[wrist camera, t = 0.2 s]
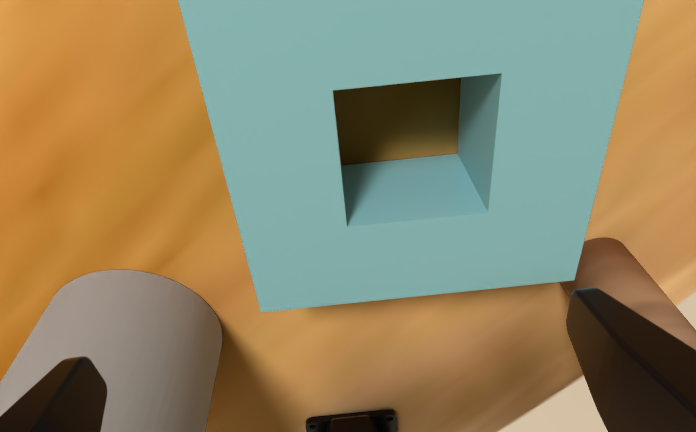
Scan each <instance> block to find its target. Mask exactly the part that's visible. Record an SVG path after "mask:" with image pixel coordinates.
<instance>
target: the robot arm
mask: <svg viewBox="0 0 696 432" xmlns="http://www.w3.org/2000/svg"><path fill="white" fill-rule="evenodd" d="M566 326H567V331H568V335H569V337H570V340H571V343H572V345H573V348H574V350H575V353H576V356H577V358H578V361H579V363H580V366H581V369H582V371H583V374H584V377H585V379H586V382H587V384H588V387H589V390H590V392H591V395H592V398H593V400H594V402H595V405H596V407H597V410H598V412H599V414H600V416H601V418H602V420H603V422H604V424H605V426H606V428H607V430H608V432H696V350H695V349H694V348H692V347H691V346H689V345H688V344H686V343H684V342H683V341H681V340H680V339H678V338H677V337H675V336H673V335H672V334H670V333H669V332H667V331H665V330H664V329H662V328H661V327H659V326H658V325H656V324H654V323H653V322H651V321H650V320H648V319H646V318H645V317H643V316H642V315H640V314H639V313H637V312H635V311H634V310H632V309H631V308H629V307H628V306H626V305H624V304H623V303H621V302H620V301H618V300H616V299H615V298H613V297H612V296H610V295H609V294H607V293H605V292H604V291H602V290H601V289H598V288H595V287H592V288H584V289H577V290H574V291H573V292H572V294H571V297H570V303H569V308H568V314H567V319H566ZM106 399H107V385H106V382H105V380H104V379H103V377H102V376H101V374H100V373H99V371H98V370H97V368H96V367H95V365H94V364H93V362H92V361H91V359H90V358H88V357H86V356H80V357H73V358H67V359H64V360H62V361H61V362H59V363H58V364H57V365H56V366H55V367H54V368H53V369H52V370H50V371H49V372H48V373H47V374H46V375H45V376H44V377H43V378H42V379H41V380H39V381H38V382H37V383H36V384H35V385H34V386H33V387H32V388H31V389H30V390H28V391H27V392H26V393H25V394H24V395H23V396H22V397H21V398H20V399H19V400H17V401H16V402H15V403H14V404H13V405H12V406H11V407H10V408H9V409H8V410H6V411H5V412H4V413H3V414H2V415H1V416H0V432H101V426H102V421H103V416H104V410H105V405H106ZM306 431H307V432H397V418H396V412H395V411H394V410H381V411H372V412H362V413H352V414H342V415H333V416H323V417H313V418H309V419H307V420H306Z"/></svg>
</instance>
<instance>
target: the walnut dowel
mask: <svg viewBox="0 0 696 432" xmlns="http://www.w3.org/2000/svg"><path fill="white" fill-rule="evenodd" d="M560 283H561V284H562V286H563V288H564V289H565V291H566V293H567V294H568V296H569V298H570V297H571V294H572V292H573V291H574V290H577V289H584V288H592V287H595V288H598V289H601V290H602V291H604V292H605V293H607V294H609V295H610V296H612V297H613V298H615V299H616V300H618V301H620V302H621V303H623V304H624V305H626V306H628V307H629V308H631V309H632V310H634V311H635V312H637V313H639V314H640V315H642V316H643V317H645V318H646V319H648V320H650V321H651V322H653V323H654V324H656V325H658V326H659V327H661V328H662V329H664V330H665V331H667V332H669V333H670V334H672V335H673V336H675V337H677V338H678V339H680V340H681V341H683V342H684V343H686V344H688V345H689V346H691V347H692V348H694V349H695V350H696V330H695V329H694V327H693V326H692V325H691V324H690V323H689V322H688V320H687V319H686V318H685V317H684V316H683V314H682V313H681V312H680V311H679V310H678V309H677V307H676V306H675V305H674V304H673V303H672V301H671V300H670V299H669V298H668V297H667V295H666V294H665V293H664V292H663V291H662V290H661V288H660V287H659V286H658V285H657V284H656V282H655V281H654V280H653V279H652V278H651V276H650V275H649V274H648V273H647V272H646V271H645V269H644V268H643V267H642V266H641V265H640V263H639V262H638V261H637V260H636V259H635V258H634V256H633V255H632V254H631V253H630V252H629V250H628V249H627V248H626V247H625V246H624V245H623V244H622V243H621V242H620V241H618V240H615V239H612V238H596V239H592V240H588V241H585V242H584V243H583V247H582V251H581V255H580V259H579V263H578V267H577V272H576V276H575V280H572V281H562V282H560Z"/></svg>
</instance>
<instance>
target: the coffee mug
mask: <svg viewBox="0 0 696 432" xmlns="http://www.w3.org/2000/svg"><path fill="white" fill-rule="evenodd" d="M222 342H223V335H222V328H221V324H220V322H219V319H218V317H217V316H216V314H215V313H214V311H213V310H212V308H211V307H210V306H209V305H208V304H207V303H206V302H205V301H204V300H203V299H202V298H201V297H200V296H199V295H198V294H196V293H195V292H193V291H192V290H190V289H188V288H187V287H185V286H183V285H182V284H180V283H178V282H175V281H173V280H171V279H168V278H165V277H162V276H159V275H156V274H152V273H147V272H141V271H134V270H105V271H99V272H93V273H90V274H86V275H84V276H81V277H78V278H76V279H74V280H72V281H71V282H69V283H67V284H66V285H64V286H63V287H62V288H61V289H60V290H58V292H57V293H56V294H55V295H54V297H53V298H52V300H51V301H50V303H49V305H48V306H47V308H46V310H45V311H44V313H43V314H42V316H41V318H40V319H39V321H38V322H37V324H36V326H35V327H34V329H33V330H32V332H31V334H30V335H29V337H28V339H27V340H26V342H25V343H24V345H23V347H22V348H21V350H20V351H19V353H18V355H17V356H16V358H15V360H14V361H13V363H12V364H11V366H10V368H9V369H8V371H7V372H6V374H5V376H4V377H3V379H2V381H1V382H0V416H1V415H2V414H3V413H4V412H5V411H6V410H8V409H9V408H10V407H11V406H12V405H13V404H14V403H15V402H16V401H17V400H19V399H20V398H21V397H22V396H23V395H24V394H25V393H26V392H27V391H28V390H30V389H31V388H32V387H33V386H34V385H35V384H36V383H37V382H38V381H39V380H41V379H42V378H43V377H44V376H45V375H46V374H47V373H48V372H49V371H50V370H52V369H53V368H54V367H55V366H56V365H57V364H58V363H59V362H61V361H62V360H64V359H67V358H73V357H80V356H86V357H88V358H90V359H91V361H92V362H93V364H94V365H95V367H96V368H97V370H98V371H99V373H100V374H101V376H102V377H103V379H104V380H105V382H106V385H107V399H106V405H105V410H104V416H103V421H102V426H101V432H205V429H206V424H207V419H208V414H209V409H210V404H211V399H212V393H213V388H214V383H215V378H216V373H217V368H218V363H219V358H220V353H221V347H222Z"/></svg>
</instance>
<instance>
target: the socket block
mask: <svg viewBox="0 0 696 432" xmlns="http://www.w3.org/2000/svg"><path fill="white" fill-rule="evenodd" d="M178 2H179V6H180V9H181V13H182V17H183V21H184V25H185V28H186V32H187V36H188V40H189V43H190V47H191V51H192V55H193V58H194V62H195V66H196V70H197V73H198V77H199V81H200V85H201V88H202V92H203V96H204V100H205V103H206V107H207V111H208V115H209V119H210V122H211V126H212V130H213V134H214V137H215V141H216V145H217V149H218V152H219V156H220V160H221V164H222V167H223V171H224V175H225V179H226V182H227V186H228V190H229V194H230V198H231V201H232V205H233V209H234V213H235V216H236V220H237V224H238V228H239V231H240V235H241V239H242V243H243V246H244V250H245V254H246V258H247V261H248V265H249V269H250V273H251V276H252V280H253V284H254V288H255V292H256V295H257V299H258V303H259V307H260V310H261V312H270V311H280V310H290V309H299V308H309V307H319V306H329V305H338V304H348V303H358V302H368V301H377V300H387V299H397V298H407V297H416V296H426V295H436V294H446V293H455V292H465V291H475V290H485V289H494V288H504V287H514V286H523V285H533V284H543V283H553V282H562V281H572V280H575V276H576V272H577V267H578V263H579V259H580V255H581V251H582V247H583V243H584V239H585V235H586V231H587V227H588V223H589V219H590V215H591V211H592V207H593V203H594V199H595V195H596V191H597V187H598V183H599V179H600V175H601V171H602V167H603V163H604V159H605V155H606V151H607V147H608V143H609V139H610V135H611V131H612V127H613V123H614V119H615V115H616V111H617V107H618V103H619V99H620V95H621V91H622V87H623V83H624V79H625V75H626V71H627V67H628V63H629V59H630V55H631V51H632V46H633V42H634V38H635V34H636V30H637V26H638V22H639V18H640V14H641V10H642V6H643V2H644V0H178ZM460 77H461V92H460V111H459V131H458V150H457V154H449V155H439V156H429V157H419V158H410V159H400V160H390V161H380V162H371V163H361V164H351V165H341V160H340V150H339V141H338V131H337V122H336V112H335V103H334V93H333V90H343V89H353V88H363V87H372V86H382V85H392V84H402V83H411V82H421V81H431V80H441V79H450V78H460Z"/></svg>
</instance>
